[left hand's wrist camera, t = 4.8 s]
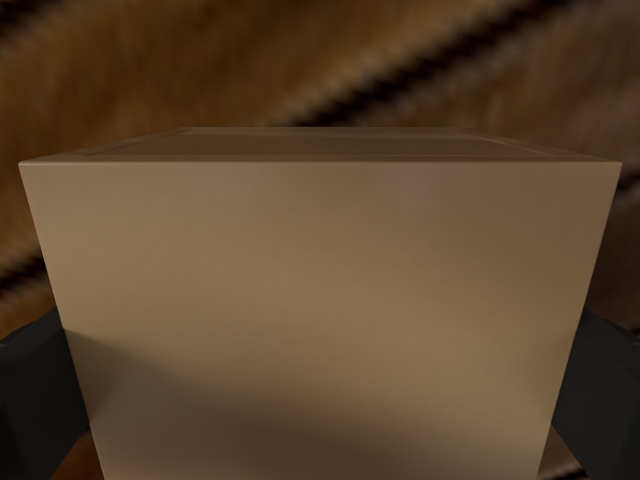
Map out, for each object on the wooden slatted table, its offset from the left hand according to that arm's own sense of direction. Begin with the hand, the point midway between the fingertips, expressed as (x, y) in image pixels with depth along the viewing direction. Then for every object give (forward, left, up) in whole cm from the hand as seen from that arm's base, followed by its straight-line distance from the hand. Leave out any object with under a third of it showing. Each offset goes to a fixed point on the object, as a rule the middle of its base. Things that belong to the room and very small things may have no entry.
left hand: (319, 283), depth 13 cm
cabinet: (+2, +3, -4) cm, 5 cm away
